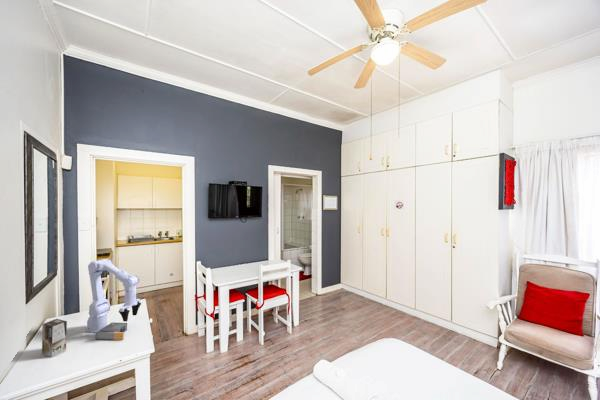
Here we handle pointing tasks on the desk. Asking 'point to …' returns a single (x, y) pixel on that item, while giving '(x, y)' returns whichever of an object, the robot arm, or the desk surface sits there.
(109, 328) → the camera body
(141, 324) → the desk surface
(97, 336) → the side door
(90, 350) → the desk surface
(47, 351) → the coffee box
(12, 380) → the desk surface
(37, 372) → the desk surface
